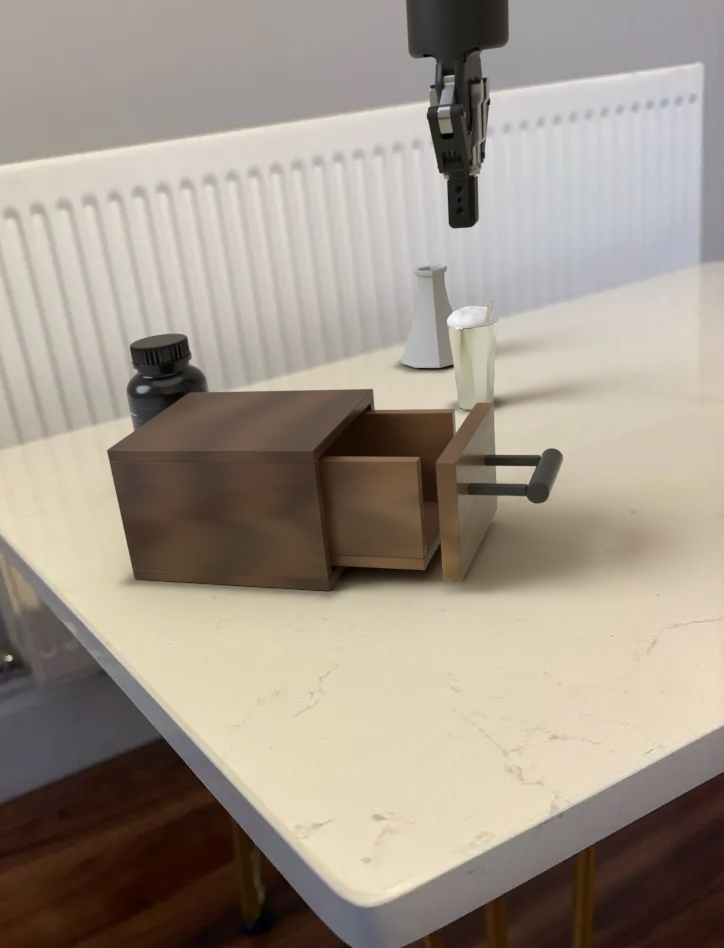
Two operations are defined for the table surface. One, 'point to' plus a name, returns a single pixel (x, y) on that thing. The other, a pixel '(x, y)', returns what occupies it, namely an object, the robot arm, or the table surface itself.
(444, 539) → the drawer
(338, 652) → the table surface
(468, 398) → the milkshake
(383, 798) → the table surface
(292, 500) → the cabinet
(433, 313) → the flask
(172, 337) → the supplement bottle
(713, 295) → the table surface
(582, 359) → the table surface
